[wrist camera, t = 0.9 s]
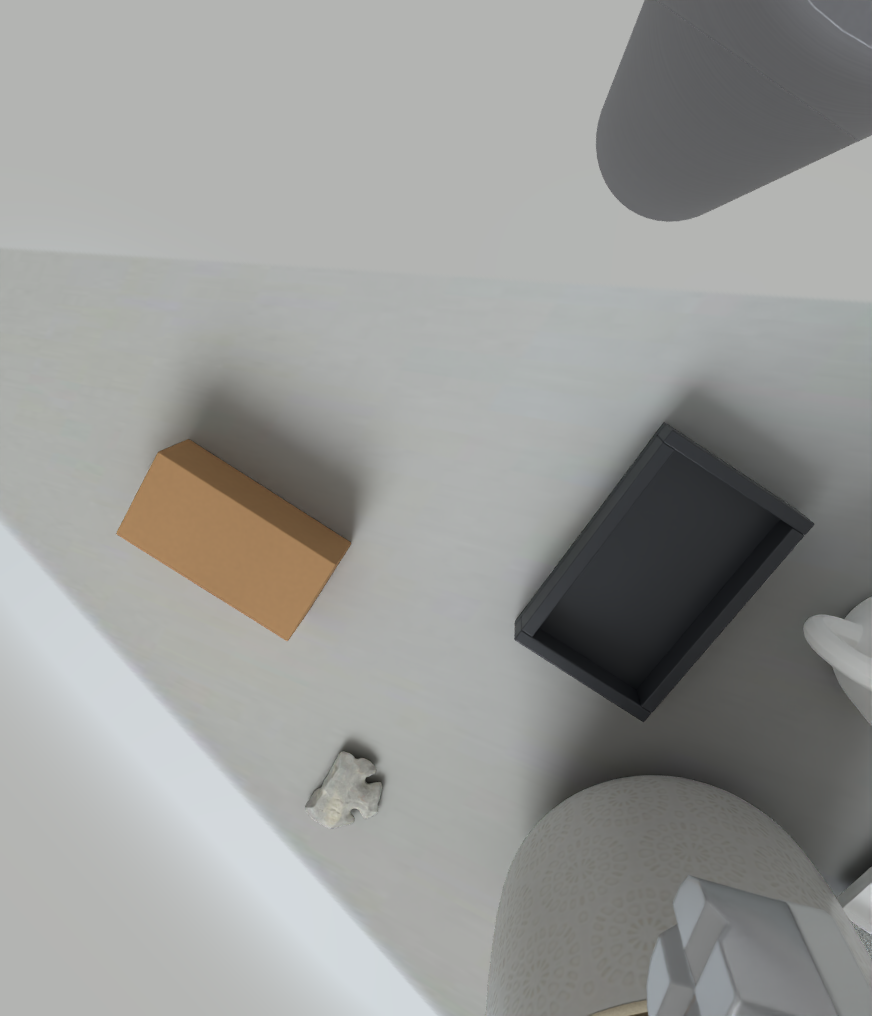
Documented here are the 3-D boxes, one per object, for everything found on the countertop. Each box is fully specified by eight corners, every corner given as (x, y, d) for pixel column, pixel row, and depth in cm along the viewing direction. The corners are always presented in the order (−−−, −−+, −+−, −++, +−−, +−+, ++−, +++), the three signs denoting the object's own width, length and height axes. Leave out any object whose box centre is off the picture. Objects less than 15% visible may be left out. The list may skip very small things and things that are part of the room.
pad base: (664, 421, 42) (672, 429, 40) (798, 510, 43) (814, 524, 40) (514, 621, 47) (513, 640, 44) (637, 700, 47) (643, 723, 45)
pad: (188, 438, 46) (157, 451, 42) (352, 542, 47) (336, 564, 43) (148, 515, 48) (115, 534, 44) (306, 614, 48) (287, 641, 45)
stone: (392, 758, 51) (322, 739, 51) (389, 769, 50) (317, 749, 50) (371, 833, 52) (303, 814, 53) (368, 845, 51) (299, 825, 51)
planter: (456, 928, 54) (418, 1251, 35) (550, 686, 47) (564, 928, 29) (733, 1022, 53) (840, 1402, 35) (866, 790, 47) (1079, 1103, 29)
